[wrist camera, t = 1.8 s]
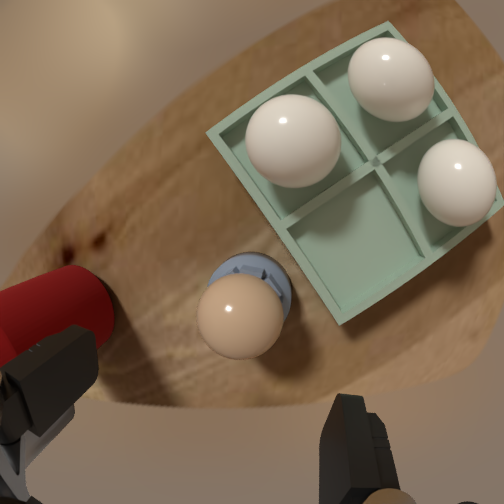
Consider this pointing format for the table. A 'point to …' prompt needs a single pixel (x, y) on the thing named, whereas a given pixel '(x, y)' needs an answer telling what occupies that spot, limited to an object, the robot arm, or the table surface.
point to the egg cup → (259, 273)
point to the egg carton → (354, 187)
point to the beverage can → (53, 309)
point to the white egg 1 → (293, 141)
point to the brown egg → (239, 316)
